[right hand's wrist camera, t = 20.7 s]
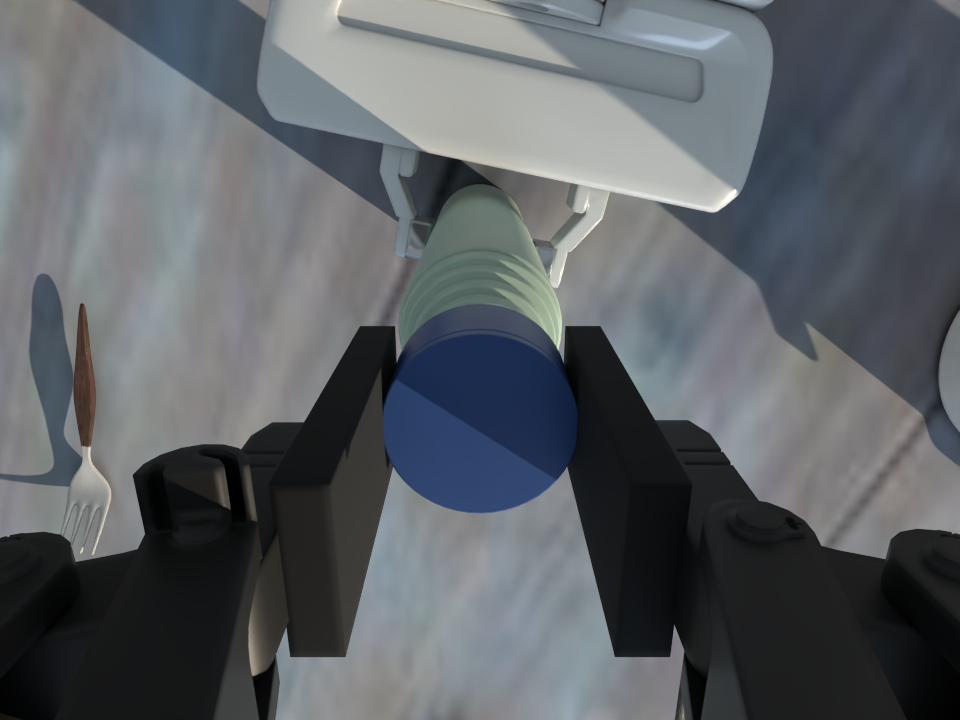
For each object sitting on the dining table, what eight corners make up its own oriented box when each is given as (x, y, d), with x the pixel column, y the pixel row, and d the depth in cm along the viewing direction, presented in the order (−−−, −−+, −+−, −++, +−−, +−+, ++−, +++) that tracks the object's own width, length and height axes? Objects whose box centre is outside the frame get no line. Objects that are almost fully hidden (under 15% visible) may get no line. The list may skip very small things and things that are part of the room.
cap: (496, 490, 15) (499, 545, 13) (361, 401, 14) (342, 446, 12) (601, 370, 14) (620, 410, 12) (462, 267, 13) (459, 293, 11)
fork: (111, 305, 37) (91, 315, 35) (112, 537, 42) (95, 556, 40) (64, 297, 37) (41, 306, 35) (71, 530, 42) (52, 550, 40)
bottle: (499, 168, 35) (537, 260, 12) (536, 246, 36) (631, 461, 13) (423, 208, 35) (320, 365, 13) (461, 283, 37) (431, 544, 14)
